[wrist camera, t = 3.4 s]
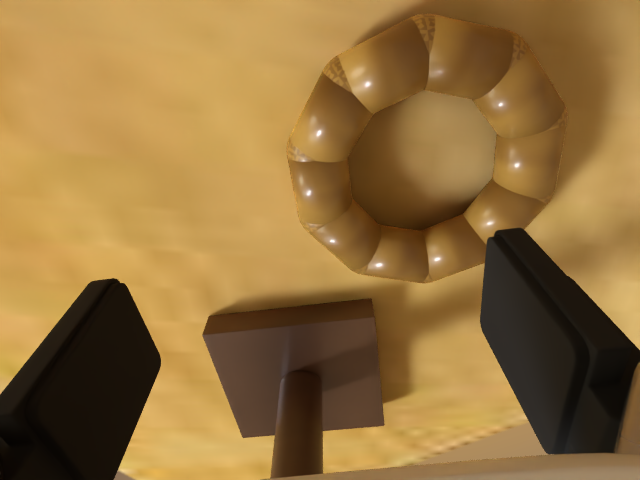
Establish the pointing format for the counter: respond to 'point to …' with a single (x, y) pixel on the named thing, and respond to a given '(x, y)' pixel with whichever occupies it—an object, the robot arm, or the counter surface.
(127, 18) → the counter surface
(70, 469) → the robot arm
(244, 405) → the peg
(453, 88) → the ring
